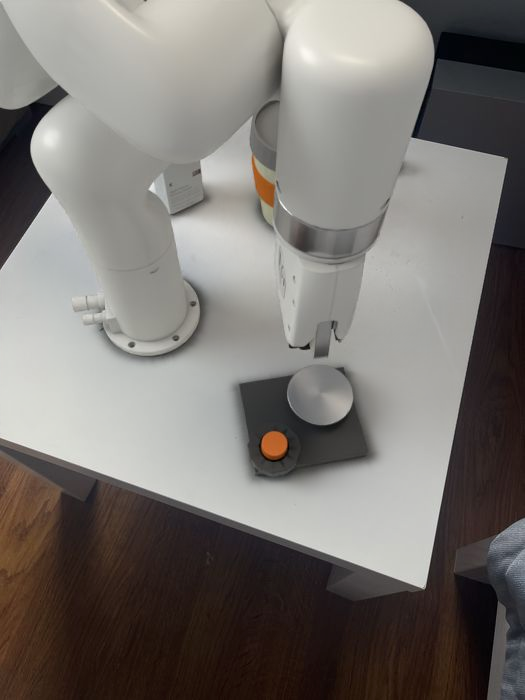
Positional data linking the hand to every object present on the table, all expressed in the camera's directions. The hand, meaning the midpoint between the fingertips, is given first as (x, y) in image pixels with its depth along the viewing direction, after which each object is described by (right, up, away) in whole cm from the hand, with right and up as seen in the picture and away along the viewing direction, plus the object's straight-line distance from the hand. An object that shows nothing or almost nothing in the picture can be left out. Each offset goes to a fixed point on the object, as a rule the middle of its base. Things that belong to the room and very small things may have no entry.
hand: (303, 340), depth 52 cm
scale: (0, -9, +12) cm, 15 cm away
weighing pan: (+3, -6, +10) cm, 12 cm away
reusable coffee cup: (0, +20, +28) cm, 34 cm away
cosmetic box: (-16, +22, +29) cm, 39 cm away
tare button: (-3, -12, +7) cm, 14 cm away
